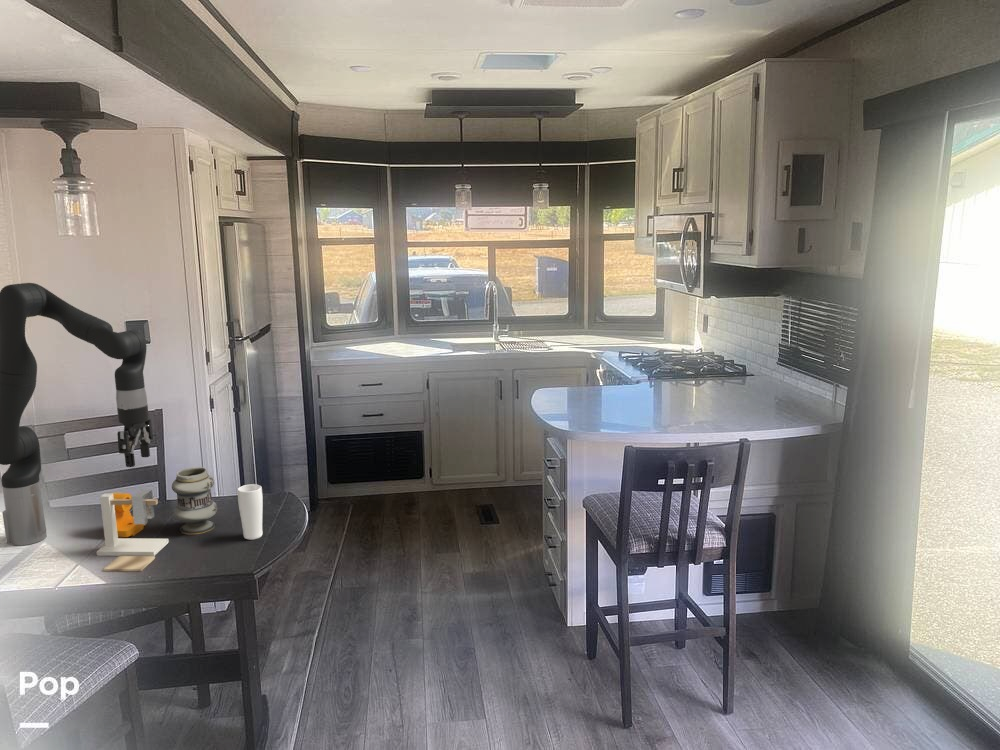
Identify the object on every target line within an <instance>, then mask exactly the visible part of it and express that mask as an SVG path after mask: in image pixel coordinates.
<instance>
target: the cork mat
mask: <svg viewBox="0 0 1000 750" xmlns="http://www.w3.org/2000/svg"><path fill="white" fill-rule="evenodd" d="M155 559H156V555H155V556H116V558H115V559H114V560H112V561H111V562H110V563H108V565H106V566H105V567H104V568H103V572H142V571H143V570H144V569H145V568H147V566H148V565H149V564H151V563H152V562H153V561H154V560H155Z"/></svg>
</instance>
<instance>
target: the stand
mask: <svg viewBox="0 0 1000 750" xmlns="http://www.w3.org/2000/svg"><path fill="white" fill-rule="evenodd" d="M99 500H100V509H101V518H102V526H103V535H104V543H105V544H104V545H103V546H101V547H100V548H99V549H98V550H96V556H102V557H103V556H107V557H108V556H109V557H111V556H112V557H115V556H116V557H118V556H155V557H156V555H157V554H158V553H159V552H160V551H161V550H162V549H163V548H164V547H166V545H167V544H168V543H169V542H170V540H169V538H152V537H151V538H146V537H145V538H140V537H139V538H133V537H131V538H129V537H118V533H117V525H116V516H115V507H114V505H132V499H114V498H113V494H111V493H103V494H102V495H100V496H99ZM158 504H159V499H158V498H157V499H155V498H153V499H148V500H147V501H146V505H153V506H157V505H158Z"/></svg>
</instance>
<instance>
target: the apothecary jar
mask: <svg viewBox="0 0 1000 750" xmlns="http://www.w3.org/2000/svg"><path fill="white" fill-rule="evenodd" d="M214 485H215V479H214V477H213V476H211V475H210V474H209V473H208V469H207V468H206V467H201V466H200V467H199V466H198V467H197V466H196V467H194V466H193V467H188V468H184V469H181V470H179V471H177V473H176V477H175V479H174V480H173V482H172V484H171V489H172V492H174V493H175V494H176V498H177V506H176V508H175V510H174V513H173V514H174V517H175V519H177V520H178V521H180V522H181V523H184V524H183V525H181V526H180V528H179V531H180V532H181V534H184V535H188V536H189V535H191V536H194V535H200V534H204V533H207V532H210V531H212V530H213V529H214V528H215V527H216V524H215V523H214V522H213V521H210V520H209V519H211V518H212V517H213V516H215V514H216V513H217V511H218V505H217V503H216V502H215V501H214V500H213V497H212V490H211V489H212V488H213V487H214Z"/></svg>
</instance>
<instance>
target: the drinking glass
mask: <svg viewBox="0 0 1000 750" xmlns="http://www.w3.org/2000/svg"><path fill="white" fill-rule="evenodd" d="M263 499H264V498H263V488H262V486H261V485H259V484H256V483H252V484H249V483H248V484H244V485H242V486H240V487H238V488H237V503H238V509H239V515H240V521H241V526H242V534H243V538H244V539H246V540H251V541H252V540H258V539H260V538H262V536H263V535H264V534H263V533H264V532H263V505H264V503H263V501H264V500H263Z"/></svg>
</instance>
